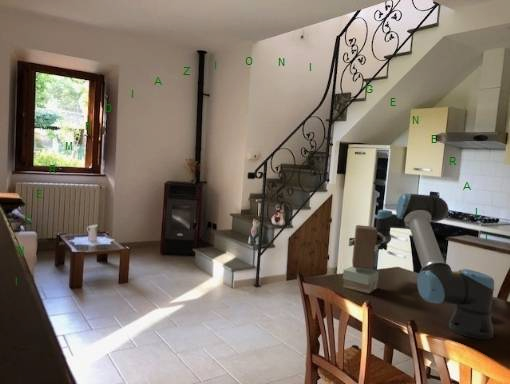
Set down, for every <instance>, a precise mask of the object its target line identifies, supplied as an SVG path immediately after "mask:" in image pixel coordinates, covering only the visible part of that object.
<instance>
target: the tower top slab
mask: <svg viewBox="0 0 510 384" xmlns="http://www.w3.org/2000/svg"><path fill="white" fill-rule="evenodd" d="M379 271H380V270H375V269H373V270H369V269H361V268H354V267H353V265H352V266H350V267H347V268H345V269H343V272H342V279H343V280H344V279H346V280H350V281H354V282H358V283H362V284H366V285H369V284H371V283H373V282H375V281H377V280H378V281H379Z"/></svg>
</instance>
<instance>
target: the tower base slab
mask: <svg viewBox="0 0 510 384" xmlns="http://www.w3.org/2000/svg"><path fill="white" fill-rule="evenodd" d="M378 286H379V279H378V280H377V281H375V282H373V283H371V284H369V285H366V284H362V283H358V282H354V281H350V280H346V279H343V285H342V287H343V288H346V289H350V290H353V291H357V292H361V293H365V294H370V293H372V292H373V291H375V290H377V289H378Z"/></svg>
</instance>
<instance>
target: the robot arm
mask: <svg viewBox="0 0 510 384" xmlns="http://www.w3.org/2000/svg"><path fill="white" fill-rule="evenodd" d="M395 212H396V213H394V214H393V211H392V210H388V209H379V210H378V211H377V216H376V229H377V231H378V232H377V242H376V245H375V249H374V251H375V252H377V251H380V250H381V251H382V250H384V251H387V250H388V244H389V243H390V242H391V240H392V234H391V229H402V230H410V233H411V236H412V240H413V243H414V245H415V250H416V252H417V256H418V258H419V262H420V265H421V267H422V268H421V269H420V270H419V273H418V275H417V278H416V283H417V285H416V287H417V291H418V294H419V295H420V297H421V298H422V299H423V300H424V301H426V302H428V303H434V304H439V305H440V304H445V305H446V304H448V305H449V304H450V305H456V308H455V310H454V312H453V314H452V315H451V318H450V320H449V323H448V325H449V326H448V327H449V329H450V330H452V331H453V332H455V333H456V334H459V335H461V336H464V337H466V338H472V339H476V340H491V339H493V337H494V326H493V322H492V318H491V314H492V313H491V312H492V305H493V296H494V291H495V280H494V278H493V277H492V276H489V275H487V274H485V273H482V272H480V271H476V270H472V269H467V268H462V269H460V270H461V272H460V273H461V274H458V273H452V271H453V270H452V268H451V265H449V264H448V263H446V262H445V261H444V257H443V255H442V252H441V250H440V246H439V244H438V241H437V239H436V236H435V233H434V230H433V228H432V225H431V222H432V223H436V222H441V221H443V220H444V219H446V217H448V215H449V205H448V203H447V202H446V201H445V200H444V199H443V198H442V197H440V196H437V195H432V194H431V195H429V194H417V193H416V194H415V193H411V192H410V193H402V194H401V195H400V196H399V198H398V200H397V202H396V209H395ZM354 239H355V237H349V239H348V247H352V246H354Z"/></svg>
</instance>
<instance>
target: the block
mask: <svg viewBox="0 0 510 384" xmlns="http://www.w3.org/2000/svg"><path fill="white" fill-rule="evenodd" d="M377 232H378V231H377V229H376V227H375V226H371V225H361V224H357V225H356V226H355V230H354V238H355V239H354V245H353V248H352V249H353V251H352V259H351V260H352V261H351V264H352V266H353V267H354V268H361V269H369V270H374V267H375V259H376V251H374V249H375V245H376V242H377Z"/></svg>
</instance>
